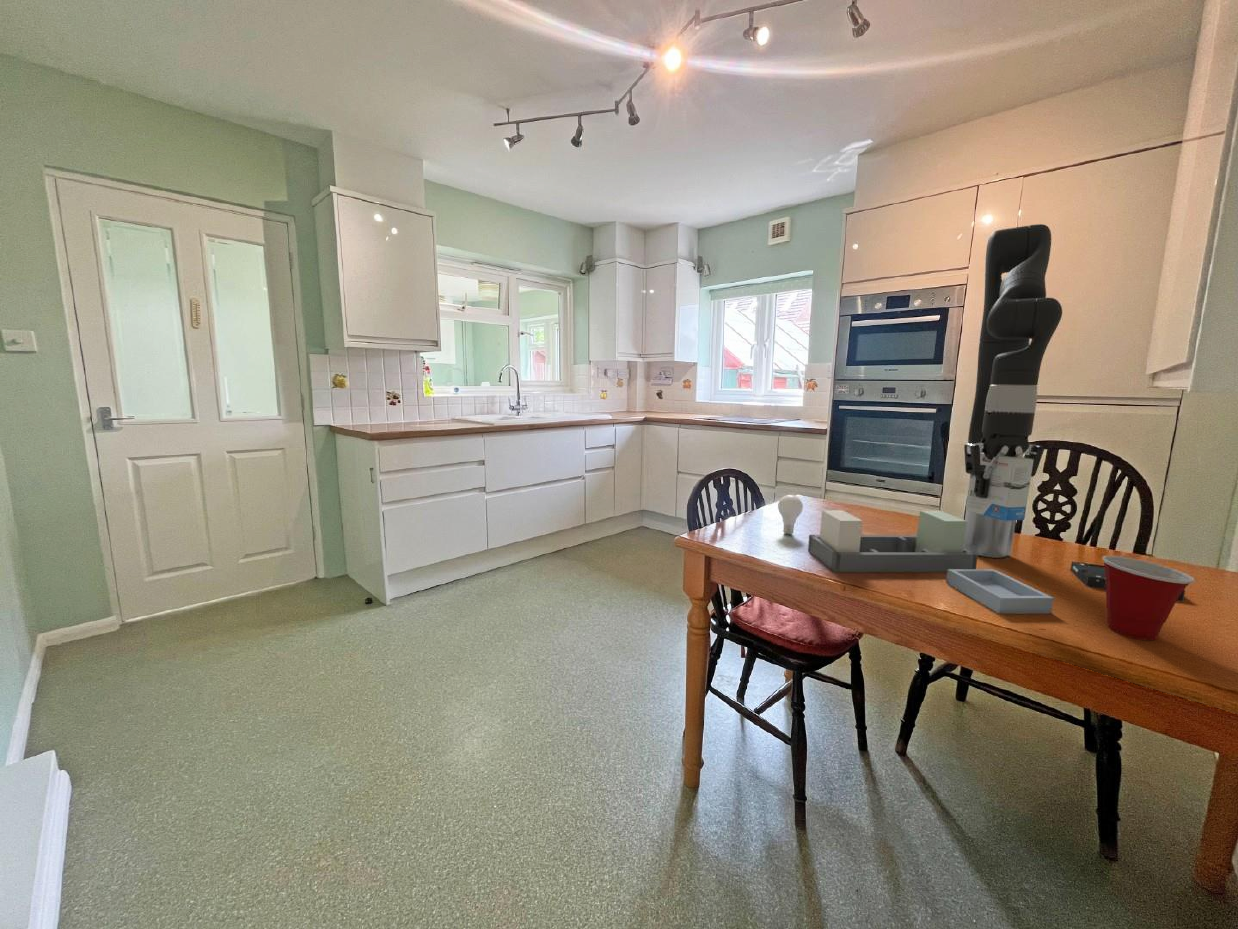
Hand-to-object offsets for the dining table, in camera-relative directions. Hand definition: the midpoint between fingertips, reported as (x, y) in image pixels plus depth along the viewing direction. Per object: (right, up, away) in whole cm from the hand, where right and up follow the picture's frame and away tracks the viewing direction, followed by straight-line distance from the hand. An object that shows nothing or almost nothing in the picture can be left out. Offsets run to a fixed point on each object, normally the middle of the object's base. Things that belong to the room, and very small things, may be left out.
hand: (996, 497), depth 97 cm
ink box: (0, -4, +1) cm, 4 cm away
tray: (+1, -20, +2) cm, 20 cm away
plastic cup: (+15, -22, -11) cm, 29 cm away
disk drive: (+34, -20, +9) cm, 40 cm away
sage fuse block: (+2, -16, +21) cm, 27 cm away
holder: (-10, -16, +21) cm, 28 cm away
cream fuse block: (-22, -16, +20) cm, 34 cm away
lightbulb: (-27, -13, +40) cm, 50 cm away
